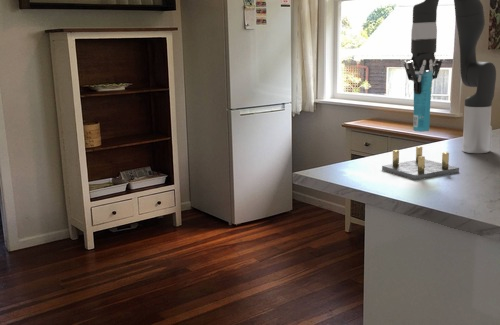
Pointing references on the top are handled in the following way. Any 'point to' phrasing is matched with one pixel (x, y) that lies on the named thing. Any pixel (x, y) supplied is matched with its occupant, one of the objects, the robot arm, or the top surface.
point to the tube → (423, 103)
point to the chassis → (420, 166)
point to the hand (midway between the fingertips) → (422, 93)
